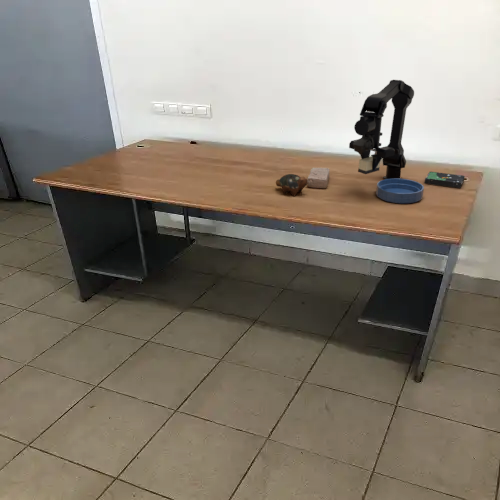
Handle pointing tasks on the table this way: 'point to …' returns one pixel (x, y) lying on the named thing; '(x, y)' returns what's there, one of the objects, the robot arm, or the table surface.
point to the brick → (318, 177)
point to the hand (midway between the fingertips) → (369, 169)
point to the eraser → (367, 165)
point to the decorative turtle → (292, 183)
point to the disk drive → (444, 179)
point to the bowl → (399, 190)
